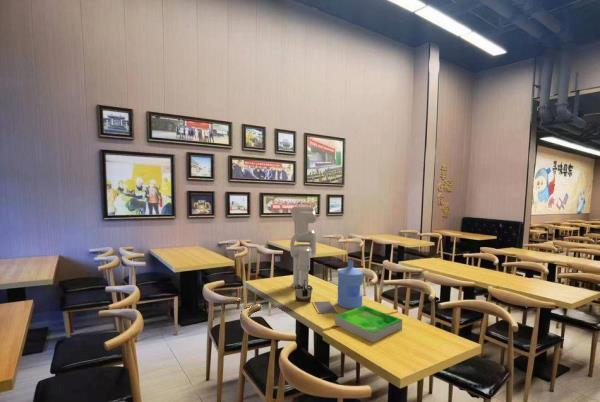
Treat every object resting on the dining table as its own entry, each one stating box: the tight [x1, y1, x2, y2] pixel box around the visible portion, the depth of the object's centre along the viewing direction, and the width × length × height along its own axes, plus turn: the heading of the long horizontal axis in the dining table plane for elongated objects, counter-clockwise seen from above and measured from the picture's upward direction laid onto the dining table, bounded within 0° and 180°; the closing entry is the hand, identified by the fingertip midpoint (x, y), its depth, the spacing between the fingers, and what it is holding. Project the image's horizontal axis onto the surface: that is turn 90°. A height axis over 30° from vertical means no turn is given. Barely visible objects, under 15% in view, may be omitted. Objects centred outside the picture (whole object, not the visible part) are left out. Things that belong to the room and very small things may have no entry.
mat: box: [311, 300, 339, 315], centre depth 187 cm, size 18×12×1 cm, turn 9°
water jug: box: [337, 259, 364, 310], centre depth 192 cm, size 16×16×28 cm
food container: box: [293, 284, 313, 304], centre depth 198 cm, size 12×6×10 cm, turn 84°
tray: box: [334, 305, 403, 343], centre depth 162 cm, size 25×25×5 cm
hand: (303, 293), depth 197 cm, fingers open, 9 cm apart
